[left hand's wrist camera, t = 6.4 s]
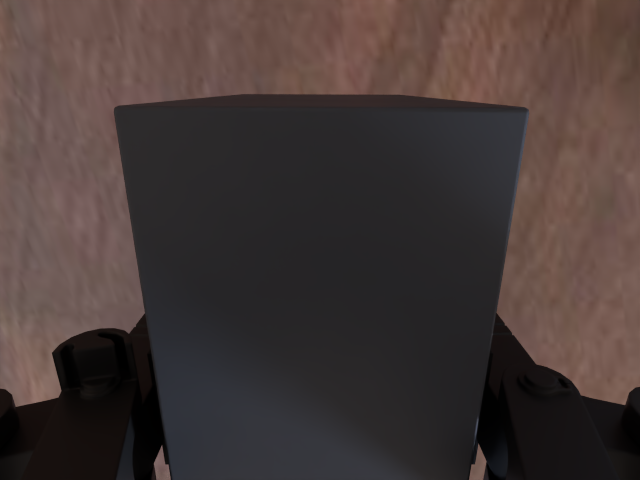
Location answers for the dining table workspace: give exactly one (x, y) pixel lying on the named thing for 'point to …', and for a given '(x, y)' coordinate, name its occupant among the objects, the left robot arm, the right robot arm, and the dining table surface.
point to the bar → (320, 278)
